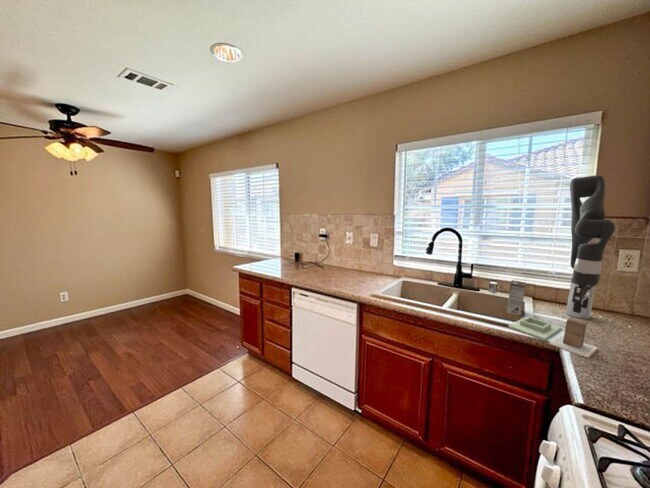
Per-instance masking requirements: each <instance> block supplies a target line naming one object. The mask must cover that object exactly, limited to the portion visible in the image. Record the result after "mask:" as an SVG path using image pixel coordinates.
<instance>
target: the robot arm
mask: <svg viewBox="0 0 650 488" xmlns="http://www.w3.org/2000/svg"><path fill="white" fill-rule="evenodd" d="M569 193H570V194H569V195H570V204H571V220H570V221H571V222H570V226H571V227H570V229H571V254H570V267H571V269H573V270H572V271H573V272H572V277H571V280H570V281H571V282H570V286H569V287H570V288H569V292H568V299H567V304H566V311H565V314H566V315H568V316H571V317H572V318H576V319H582V320H584V319H585V320H587V319H590V318H591V313H592V309H593V308H592V307H593V302H594V297H595V292H596V286H597V285H598V284H599V282H600V276H601V272H602V265H603V263H602V261H603V256H604V251H605V248H606V246H607V244H608V242H609V241H610V240H611V237H613V235H614V232H615V230H616V226H615V224H614V222H613V221H612V220H609V219H606V212H605V207H604V204H605V196H606V181H605V178H604V177H603V176H602V175H600V174H599V175H598V174H597V175H596V174H595V175H589V176H580V177H575V178H573V179H571V181H570V184H569ZM581 198H586V199H585V200H584V202H582V200H581ZM593 239H597V240H596V241H594V242H591V241H592V240H593ZM590 242H591V243H590Z"/></svg>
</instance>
